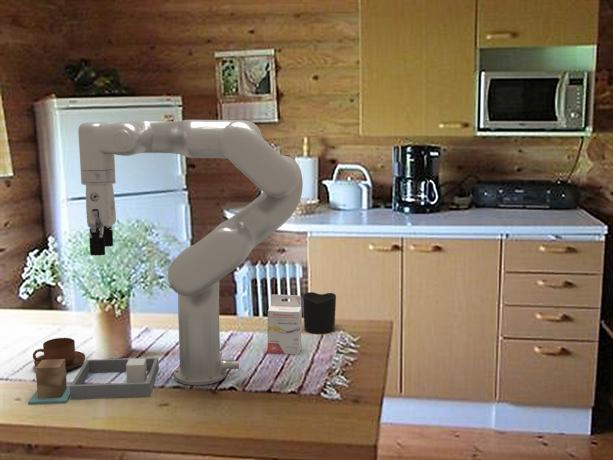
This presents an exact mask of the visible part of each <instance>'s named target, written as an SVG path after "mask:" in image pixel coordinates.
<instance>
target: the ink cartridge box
mask: <svg viewBox="0 0 613 460" xmlns="http://www.w3.org/2000/svg"><path fill="white" fill-rule="evenodd" d="M285 299H287V300H289V301H287V300H286V301H285ZM302 308H303V307H302V297H301V295H298V294H297V295H294V294H293V295H292V294H291V295H290V294H271V295H270V306H269V308H268V310H267V354H278V353H279V355H300V353H301V350H302V312H303V311H302V310H303V309H302Z"/></svg>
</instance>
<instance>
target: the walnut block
mask: <svg viewBox="0 0 613 460" xmlns="http://www.w3.org/2000/svg"><path fill="white" fill-rule="evenodd" d="M35 380H36V390H37V395H38V399H40V398H61V397H62V396H63V394H64V393H65V391H66V389H67V386H68V383H67V370H66V366H65V359H50V360H41V362H40V363H39V364H38V366H37V367H36V366H35Z"/></svg>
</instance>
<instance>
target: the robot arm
mask: <svg viewBox="0 0 613 460" xmlns="http://www.w3.org/2000/svg"><path fill="white" fill-rule="evenodd" d="M77 130H78V133H77V134H78V148H79V149H78V150H79V163H80V164H79V167H80V168H79V169H80V180H81V181H80V182H81V183H80V184H81V185H84V186H85V209H86V211H85V212H86V214H85V215H86V223H87V227H88V228H89V233H88V234H89V238H88V241H89V254H90V256H104V255H106V247H113V246H114V231H113V225H114V224H115V223H116V220H117V213H116V202H115V201H116V200H115V193H114V192H115V191H114V186H113V185H114V184H116V169H115V168H116V164H115V161H116V160H115V155H117V156H121V157H123V156H124V157H129V156H133V155H138V154H175V155H180V156H183V157H185V158H189V159H228V160H229V161H230V162H231V164H233V165H234V166H235V168H236V169H238V170H239V172H241V173H242V174H243V175H244V176H245V177H246V178H247V179H249V181H251V182H252V184H254V185H255V186H256V187H257V188H258V189H259V190H260V191H261V194H260V195H258V196H257V198H255V199H253V200H252V201H251V202H249V204H247V206H246V207H243V208H242V209H241V210H240V211H238V212H237V213H236V214H234V215H233V216H232V217H230V218H228V219H227V220H224V221H223V222H220V224H218V225H217V226H216V227H214V229H213V230H211V232H209V233H208V234H207V235H205V236H204V237H203V238H201V239H200V240H199V241H197V242H195V244H191V245H190V246H188V247H186V248H185V249H183V250H182V251H181V252H180V253H179V254H178V255H177V257H175V258H174V259H173V260H172V261H171V263H170V265H169V267H168V270H167V281H168V282H167V283H168V284H169V286H170V288H171V289H172V291H173V292H175V293H176V294H177V312H178V313H177V317H178V318H177V319H178V321H177V322H178V344H179V345H178V346H179V349H178V350H179V366H178V367H176V368H175V369H174V370H173V378H174V380H175V381H176V382H178V383H180V384H184V385H188V386H204V385H211V384H214V383H218V382H220V381H222V380H223V379H225V378H226V377H227V375H228V370H240V360H235V358H234V357H233V358H225V357H223V352H221V342H220V341H221V340H220V339H221V338H220V337H221V336H220V335H221V333H220V281H221V280H222V279H223V278H224V277H227V275H229V274H230V273H231V272H233V271H234V270H236V269H237V268H238V267H239V266H241V265H242V264H243V263H244V261H245V260H246V259H247V258H248V256H249V255H250V253H251V252H252V250H253V249H255V248H256V246H258V245H260V243H262V242H263V241H264V240H266V239H267V238H269V236H271V235H272V234H273V233H274V232H275V231H277V230H278V229H279V228H280V227H282V226H283V225H284V224H286V222H288V220H290V218H291V217H292V216H293V215H294V213H295V212H296V210H297V208H298V206H299V204H300V202H301V199H302V195H303V187H304V186H303V185H304V183H303V174H302V170H301V168H300V165H299V164H298V161H296V160H295V159H294V158H292V157H290V156H287V155H284V154H283V155H282V154H280V152H278V151H277V150H276V149H274V147H273V146H271V144H269V143H268V141H267V140H266V139H264V138H263V135H262V132H261V129H260V128H259V127H258V125H257V124H255V123H254V122H252V121H249V120H241V119H240V120H239V119H236V120H235V119H234V120H233V119H184V120H177V121H176V120H175V121H173V120H171V121H167V120H166V121H165V120H161V121H160V120H159V121H158V120H156V121H155V120H131V121H130V120H129V121H122V122H114V123H108V122H99V121H98V122H94V121H93V122H92V121H91V122H82V123H80V124H79V126H78V129H77Z"/></svg>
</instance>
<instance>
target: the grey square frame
mask: <svg viewBox="0 0 613 460" xmlns="http://www.w3.org/2000/svg"><path fill="white" fill-rule="evenodd" d="M129 359H146V367H147V372H149V374H148V375H147V380H146V382H139V383H127V382H121V383H120V382H118V383H91V384H90V383H88V384H87V383H86V384H85V381H86V379H87V377H88V376H89V374H90V373H92V374H93V373H95V374H96V373H115V372H116V373H117V372H122V373H124V372H126V364H127V362H128V360H129ZM159 361H160V359H159V357H132V358H107V359H106V358H104V359H103V358H101V359H98V358H97V359H85V360H84V362H83V363H82V366H81V368H80V369H79V371H78V372H77V374H76V376H75V377H74V378H73V381H71V384H70V385H69V386H70V400H82V399H83V400H84V399H89V400H90V399H110V398H111V399H113V398H114V399H115V398H116V399H117V398H137V397H138V398H139V397H140V398H141V397H151V394H152V392H153V389H154V385H155V383H156V379H157V376H158V374H159V373H158V372H159V370H160V366H159V363H160V362H159Z"/></svg>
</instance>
